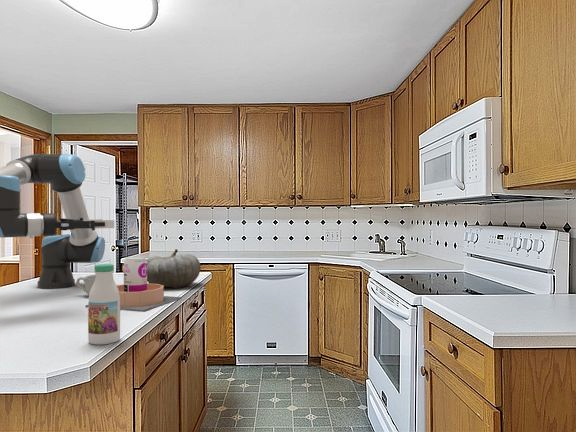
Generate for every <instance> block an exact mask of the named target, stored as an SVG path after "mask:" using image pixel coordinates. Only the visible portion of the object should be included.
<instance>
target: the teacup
mask: <svg viewBox="0 0 576 432" xmlns="http://www.w3.org/2000/svg"><path fill="white" fill-rule="evenodd" d="M95 278H96V274H90V275H87V276H84V277H83V276H80V277H78V278H77V279H76V280H75V284H76V286H77V287H79V288H80V289H82V290H83V292H85V294H87V295H88V296H89V294H90V291H91V288H92V286H93V284H94V281H95ZM81 280H82V281H83V283H84V286H83V285H82V284H81V283H80V281H81Z"/></svg>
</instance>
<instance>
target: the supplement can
mask: <svg viewBox="0 0 576 432" xmlns="http://www.w3.org/2000/svg"><path fill="white" fill-rule="evenodd" d="M146 259H147V258H146V257H144V256H130V257H125V259H124V261H123V285H124V292H141V291H147V283H148V282H147V261H146Z"/></svg>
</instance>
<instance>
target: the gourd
mask: <svg viewBox="0 0 576 432" xmlns="http://www.w3.org/2000/svg"><path fill="white" fill-rule="evenodd" d="M178 251H179V250H178V249H177V248H175V249H174V251H173V253H172V254H171V255H170V256H165V257H162V256H158V255H153V256H149V257H148V258H145V259H146V261H147V283H150V284H160V285H164V288H172V289H178V288H183V287H185V286H190V285H191V284H193V283H194V282H195V281H196V279H197V278H199V275H200V273H201V272H200V271H201V268H202V267H201V262H200V260H199V259H198V257H197V256H195V255H193V254H189V253H186V254H182V253H180V254H177V253H178Z"/></svg>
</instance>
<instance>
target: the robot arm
mask: <svg viewBox="0 0 576 432" xmlns="http://www.w3.org/2000/svg"><path fill="white" fill-rule="evenodd" d="M85 172H86V168H85V164H84V162H83V161H82V158H80V157H79V156H78V155H75V154H70V153H69V154H68V153H36V154H35V153H33V154H29V155H26V156H23V157H19V158H17V159H13V160H10V161H9V162H7V163H6V165H5V166H1V167H0V238H26V237H29V239H33V238H34V237H40V236H42V237H43V238H42V241H41V271H40V275H39V277H38V280H37V288H39V289H46V290H47V289H50V290H51V289H62V288H69V287H74V286H75V285H76V280H75V278H74V276H73V272H72V267H71V266H72V265H71V264H75V263H77V264H92V263H93V264H95V263H99V262H101V261H102V259H103V257H104V254H105V249H106V240H105V238H104V237H103V236H99V235H98V232H97V231H96V229H115V219H109V220H108V219H107V220H105V219H101V218H100V219H94V218H93V219H92V218H91V219H90V218H89V214H88V211H87V208H86V203H85V200H84V198H83V194H82V191H81V187H82V185H83V182H84V181H85V179H86V173H85ZM26 184H48V185H50V188H51V190H52V191H53V192H55V193H57V195H58V199H59V201H60V205H61V206H62V211H63V214H64V216H65V218H59V219H58V220H56V219H57V217H56V215H55V213H53V212H52V213H49V212H48V213H47V212H45V213H44V212H43V213H42V214H41V213H39V212H27V213H24V212H23V213H22V212H21V192H22V191H21V186H22V185H26ZM57 229H59V230H60V231H70V232H69V233H65V234H58V235H56V232H57Z"/></svg>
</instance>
